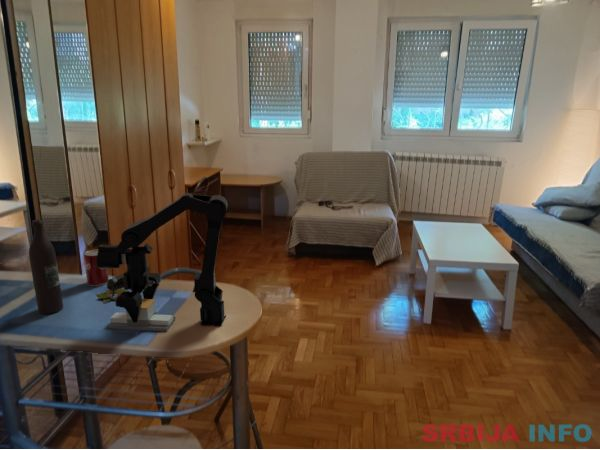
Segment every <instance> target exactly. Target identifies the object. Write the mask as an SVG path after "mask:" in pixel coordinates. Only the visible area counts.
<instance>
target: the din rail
mask: <svg viewBox="0 0 600 450" xmlns="http://www.w3.org/2000/svg"><path fill="white" fill-rule="evenodd" d="M149 322H150V325H149V326H131V325H127V316H126V312H115V313H114V314H113V315H112V316H111V317H110V322H109V323H108V324H107V328H108V329H115V330H118V329H119V330H133V331H134V330H137V331H156V332H168V331H169V329H170V328H171V326H172V325H173V324H174V323H175V322H176V316H174V315H173V314H172V315H171V314H158V313H156V314H153V315H152V316H151V317H150V319H149Z"/></svg>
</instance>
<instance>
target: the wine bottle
mask: <svg viewBox="0 0 600 450" xmlns="http://www.w3.org/2000/svg"><path fill="white" fill-rule="evenodd" d="M43 225H44V220H42V219H33V220H32V222H31V227H32V228H33V229H32V230H33V238H32V240H31V242H30V245H29V249H28V255H29V256H28V257H29V263H30V269H31V274H32V282H33V287H34V294H35V299H36V305H37V311H38V312H39V314H41V315H51V314H56V313H58V312H59V311H62V310H63V309H64V302H63V297H62V289H61V283H60V275H59V269H58V263H57V256H56V251H55V248H54V245H53V244H52V242H51V241H50V240H49V239H48V237H47V236H46V234H45V232H44V228H43V227H44V226H43Z"/></svg>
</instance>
